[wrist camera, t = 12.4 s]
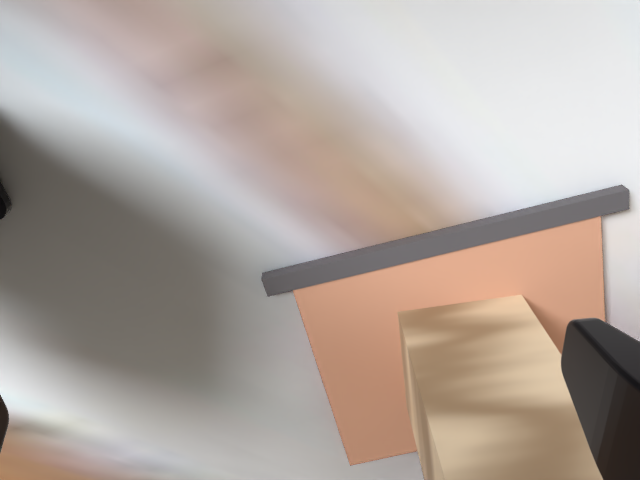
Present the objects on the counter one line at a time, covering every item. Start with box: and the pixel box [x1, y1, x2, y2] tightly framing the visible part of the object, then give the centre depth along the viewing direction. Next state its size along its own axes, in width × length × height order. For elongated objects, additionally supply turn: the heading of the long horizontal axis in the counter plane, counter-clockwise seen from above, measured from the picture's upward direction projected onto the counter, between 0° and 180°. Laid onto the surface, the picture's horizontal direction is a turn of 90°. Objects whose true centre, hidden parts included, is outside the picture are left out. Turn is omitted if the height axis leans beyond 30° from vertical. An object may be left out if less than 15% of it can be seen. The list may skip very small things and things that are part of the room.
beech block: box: [398, 295, 603, 480], centre depth 18 cm, size 5×5×13 cm
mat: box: [262, 185, 629, 466], centre depth 24 cm, size 14×11×1 cm
